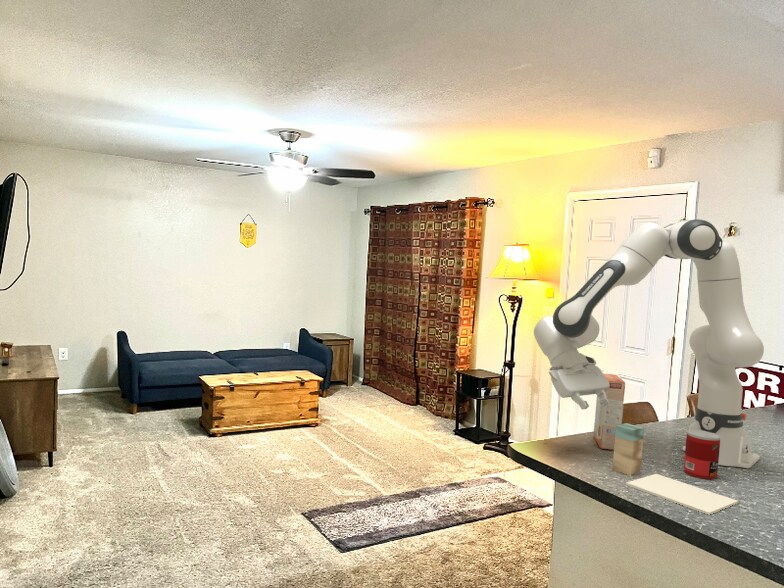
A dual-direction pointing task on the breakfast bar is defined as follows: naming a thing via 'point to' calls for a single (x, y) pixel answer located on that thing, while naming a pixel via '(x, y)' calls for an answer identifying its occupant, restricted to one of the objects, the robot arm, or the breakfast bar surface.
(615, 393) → the cracker box
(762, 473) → the breakfast bar surface
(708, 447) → the canned food
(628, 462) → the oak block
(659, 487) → the felt mat
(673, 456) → the breakfast bar surface
